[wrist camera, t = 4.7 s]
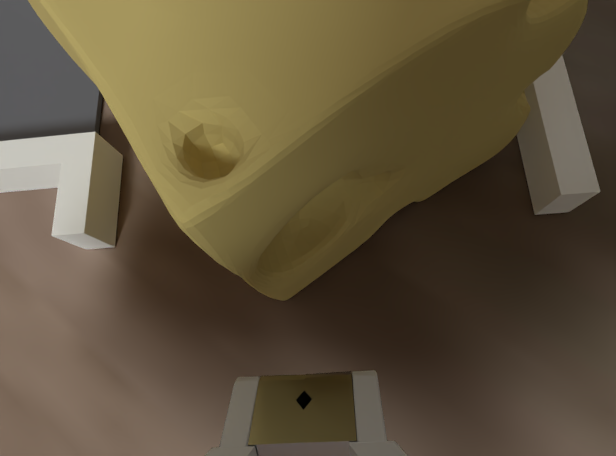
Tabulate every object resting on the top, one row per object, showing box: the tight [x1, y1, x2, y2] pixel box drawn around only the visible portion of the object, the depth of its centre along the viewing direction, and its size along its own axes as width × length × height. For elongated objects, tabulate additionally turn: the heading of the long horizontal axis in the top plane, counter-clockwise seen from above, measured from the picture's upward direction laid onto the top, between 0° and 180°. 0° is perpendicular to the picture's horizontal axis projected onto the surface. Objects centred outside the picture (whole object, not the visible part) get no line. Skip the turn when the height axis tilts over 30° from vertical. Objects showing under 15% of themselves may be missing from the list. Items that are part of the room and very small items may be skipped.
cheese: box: [28, 0, 588, 301], centre depth 12 cm, size 10×11×10 cm
